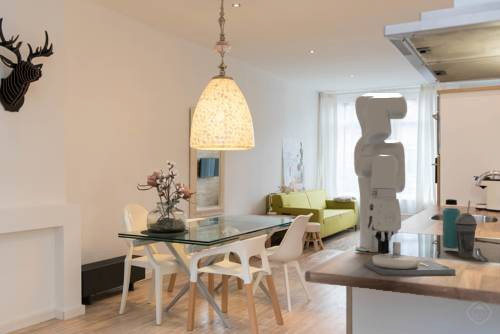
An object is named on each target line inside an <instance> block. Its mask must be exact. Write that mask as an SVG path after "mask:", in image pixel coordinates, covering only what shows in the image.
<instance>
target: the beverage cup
mask: <svg viewBox="0 0 500 334" xmlns="http://www.w3.org/2000/svg"><path fill="white" fill-rule="evenodd" d="M470 205H471V200H468V202H467V211H466V212H462V213H460V215H459V216H458V217H457V218H456V221H455V227H456V231H457V242H458V249H457V251H458V257H461V258H474V249H475V248H474V247H475V240H476V239H475V238H476V230H477V226H478V223H477V220H476V218H475V216H474V215H473V214H471V213H470V207H471V206H470Z"/></svg>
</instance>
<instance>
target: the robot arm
mask: <svg viewBox="0 0 500 334" xmlns="http://www.w3.org/2000/svg"><path fill="white" fill-rule="evenodd" d="M407 103H408V102H407V100H406V98H405V96H403V95H402V94H400V93H366V94H362V95H359V96H358V97H356V99H355V104H354V106H355V115H356V118H357V121H358V123H359V126H360V130H361V136H360V138H358V140H357V141H356V143H355V147H354V149H353V150H354V151H353V165H354V166H353V167H354V168H353V169H354V173H355V175H356V176H357V183H358V189H359V191H358V192H359V203H360V204H359V213H360V214H359V244H358V245H355V249H356V250H357V251H361V252H366V251H369V252H368V253H378V254H389V253H390V241H391V240H392V237H393V236H394V235H396V234H398V233H399V232H398V231H400V230H401V228H402V214H401V205H400V201H399V199H398V198H397V194H399V193H402V192H403V191H404V190H405V188H406V154H405V153H406V152H405V148H404V147H405V146H404V145H403V143H402V142H401V141H399V140H387V139H389V138H390V136H391V135H392V125H391V120H402V119H405V118H406V116H407V113H408V104H407Z"/></svg>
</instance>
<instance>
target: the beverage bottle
mask: <svg viewBox="0 0 500 334" xmlns="http://www.w3.org/2000/svg"><path fill="white" fill-rule="evenodd" d="M444 205H445V206H446V205H449V206H458V200H457V199H453V198H452V199H451V198H449V199H445V204H444ZM460 214H461V211H460V209H458V207H457V208H456V207H444V209H443V210H442V225H441V226H442V239H441V240H442V247H443V248H446V249H452V250H455V249H457V250H458V242H457V231H456V227H455V221H456V218H457V217H458V216H459V215H460Z"/></svg>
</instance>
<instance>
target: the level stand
mask: <svg viewBox="0 0 500 334" xmlns="http://www.w3.org/2000/svg"><path fill="white" fill-rule="evenodd" d="M363 266H364V267H365V268H368V269H369V270H371V271H373V272H375V273H376V274H379V275H381V276H382V277H385V276H386V277H387V276H388V277H391V276H395V277H396V276H399V277H400V276H456V269H455V268H452V267H449V266H446V265H443V264H441V263H438V262H435V261H432V260H429V259H425V260H424V259H421V260H420V259H418V267H416V268H410V269H395V268H386V267H380V266H376V265H374V264H373V260H363Z"/></svg>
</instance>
